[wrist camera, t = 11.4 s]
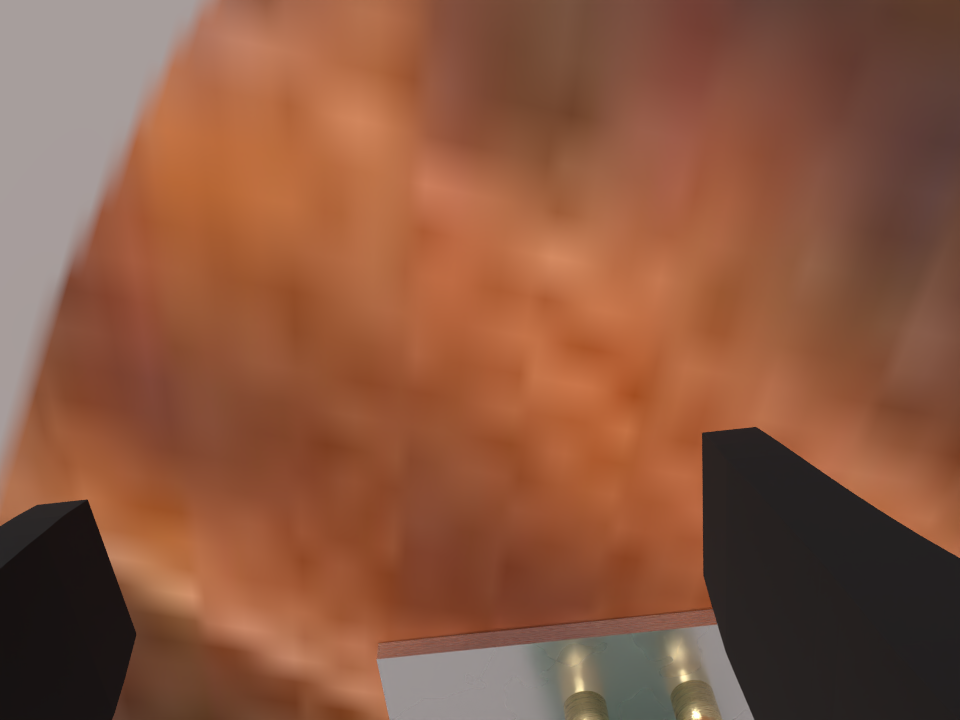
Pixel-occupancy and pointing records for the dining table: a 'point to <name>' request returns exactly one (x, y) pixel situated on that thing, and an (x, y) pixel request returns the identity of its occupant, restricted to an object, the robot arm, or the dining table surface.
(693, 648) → the plate
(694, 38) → the dining table surface
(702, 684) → the standoff posts
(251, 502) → the dining table surface
